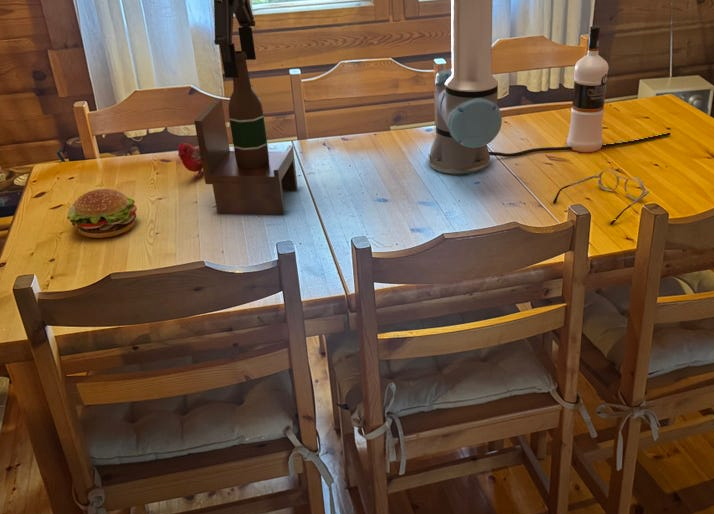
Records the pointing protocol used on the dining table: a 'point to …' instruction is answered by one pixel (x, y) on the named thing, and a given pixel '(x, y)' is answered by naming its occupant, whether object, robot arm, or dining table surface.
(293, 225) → the dining table surface
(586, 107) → the vodka
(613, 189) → the eyeglasses
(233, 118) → the beer bottle
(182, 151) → the decorative bird figurine
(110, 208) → the food
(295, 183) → the shelf stand
